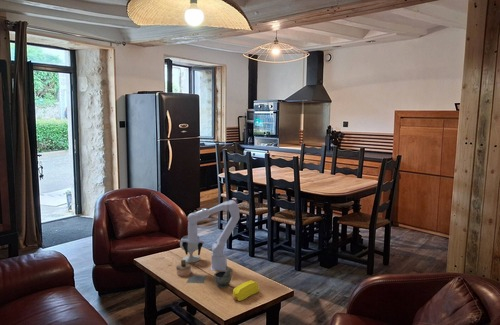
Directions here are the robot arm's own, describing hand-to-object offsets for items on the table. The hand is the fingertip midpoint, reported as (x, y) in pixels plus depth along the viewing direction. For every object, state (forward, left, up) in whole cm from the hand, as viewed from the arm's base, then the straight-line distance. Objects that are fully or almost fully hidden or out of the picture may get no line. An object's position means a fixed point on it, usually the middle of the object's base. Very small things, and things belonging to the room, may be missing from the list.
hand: (192, 254), depth 232 cm
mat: (-5, +13, -10) cm, 17 cm away
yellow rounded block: (-36, +29, -11) cm, 47 cm away
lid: (+5, +5, -6) cm, 9 cm away
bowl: (+5, +5, -10) cm, 12 cm away
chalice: (+6, -17, -11) cm, 21 cm away
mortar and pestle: (-22, +20, -11) cm, 32 cm away
